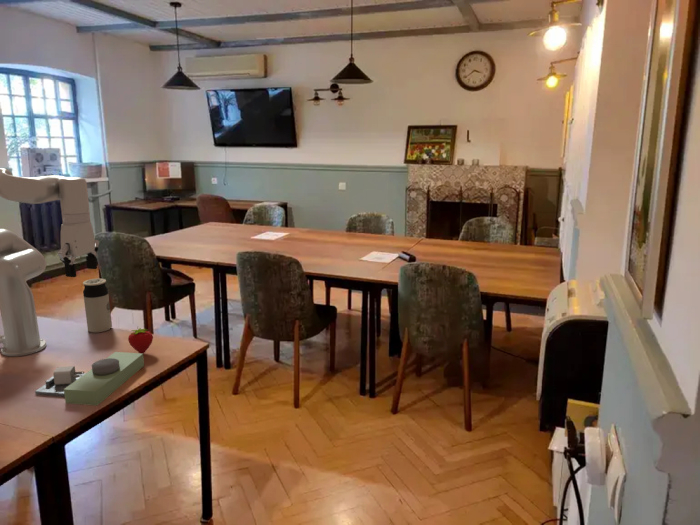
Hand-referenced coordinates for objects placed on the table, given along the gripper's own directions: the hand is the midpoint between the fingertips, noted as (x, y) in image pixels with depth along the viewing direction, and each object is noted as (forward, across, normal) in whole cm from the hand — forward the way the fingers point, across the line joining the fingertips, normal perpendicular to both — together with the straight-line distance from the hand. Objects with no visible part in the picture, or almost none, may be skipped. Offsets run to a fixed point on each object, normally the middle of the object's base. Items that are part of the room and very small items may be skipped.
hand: (82, 272), depth 162 cm
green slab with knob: (+26, +18, +19) cm, 37 cm away
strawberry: (+26, -2, +18) cm, 32 cm away
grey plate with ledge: (+26, +22, +10) cm, 36 cm away
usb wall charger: (+26, +21, +10) cm, 35 cm away
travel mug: (+27, -18, -9) cm, 34 cm away
